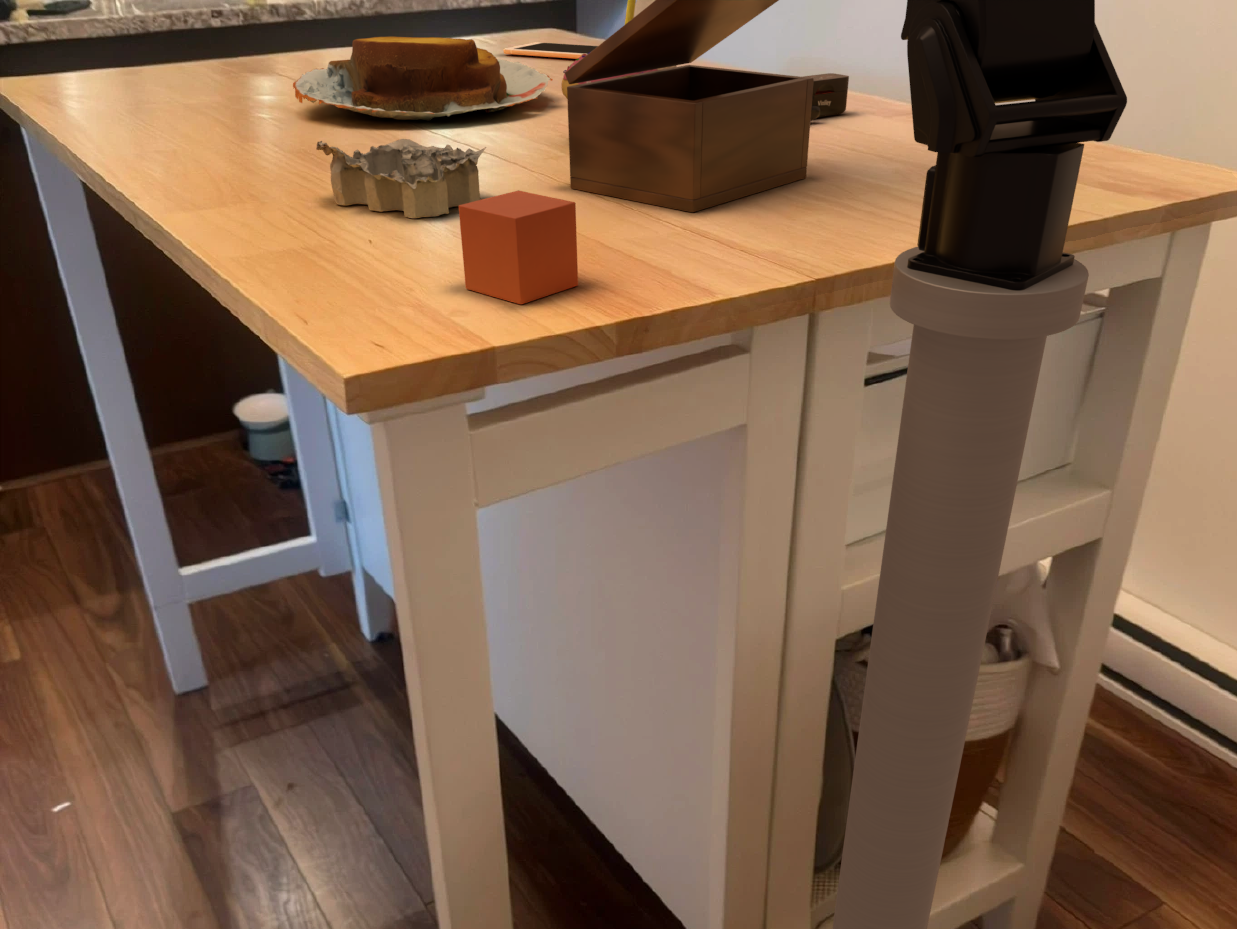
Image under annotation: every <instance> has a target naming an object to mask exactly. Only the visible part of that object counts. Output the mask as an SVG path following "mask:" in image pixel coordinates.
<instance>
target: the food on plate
mask: <svg viewBox="0 0 1237 929" xmlns="http://www.w3.org/2000/svg"><path fill="white" fill-rule="evenodd" d="M351 50H352V51H351V55H350V59H339V60H338V59H337V60H330V61H328V64H327V67H326V68H324V67H321V68H313V69H311V70H310V71H309V70H308V71H305V73H302V74H301V76H300V77H299V78H298V79H297V80H295V81H293V82H292V90H293V89H294V94H295V95H294V97H295V98H296V99H297V100H298V103H301V104H303V100H305V99H306V100H307V101H309V102H310V103H313V104H315V103H316V102H317V101H318V104H319V105H321V104H322V103H323V104H325V105H333V106H335V107H336V109H344V110H348V111H351V112H356V113H360V114H363V115H369V116H370V117H371V116H372V117H376V118H380V119H381V118H385V119H386V118H387V119H393V120H401V121H405V120H409V121H410V120H413V121H417V120H423V121H427V122H429V121H431V120H432V119H435V118H441V117H445V116H447V117H450V116H452V115H459V114H464V113H468V112H469V113H470V112H473V111H477V110H485V111H484V112H485V113H493V112H498V111H500V110H504V109H506V108H508V107H513V106H515V105H520V104H522V103H525V102H529V101H533V100H538V96H539V95H541V94H542V92H545V91H546V90H547V89H546V88H547V87H548V85H549V81H551V82H553V78H551V77H550V75H548V74H546V73H542V72H540V71H538V70H537V69H536V68H534V67H531V66H528V65H527V64H525V63H522V62H519V61H510V60H507V59H502V58H497V57H496V56H495V55H494V54H493V53H492V52H490V51H488V50H487V49H484V48H480V47H477V44H476V41H475V40H474V39H472V38H468V39H465V38H456V37H455V38H453V37H435V36H431V37H413V36H412V37H409V36H374V37H367V38H356V39H353V40H352V48H351ZM553 103H555V101H554V100H553Z"/></svg>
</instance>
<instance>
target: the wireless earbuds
mask: <svg viewBox="0 0 1237 929" xmlns="http://www.w3.org/2000/svg"><path fill="white" fill-rule="evenodd" d="M802 77H808V78H814V80H813V94H812V107H811V120H810V121H813V120H816V119H817V118H823V117H831V116H838V115H842V114H844V113H845V112H846V110H847V102H848V91H849V81H850V80H849V79H850V76H849V75H846V74H841V73H834V72H833V73H831V72H830V73H829V72H828V73H821V74H819V73H818V74H812V75H804V76H802Z"/></svg>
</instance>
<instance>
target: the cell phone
mask: <svg viewBox="0 0 1237 929" xmlns="http://www.w3.org/2000/svg"><path fill="white" fill-rule="evenodd" d="M598 46H599V45H593V44H575V43H558V42H542V41H536V42H535V41H534V42H530V43H529V42H528V43H525V44H524V43H523V44H519V45H515V46H509V47H505V48H503V54H504V55H517V56H531V57H532V56H533V57H548V58H560V59H561V58H562V59H575V60H576V59H578V58H579V57H580V56H582V54H588V53H589V52H591V51H593V50H594V49H595V48H596V47H598Z"/></svg>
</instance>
